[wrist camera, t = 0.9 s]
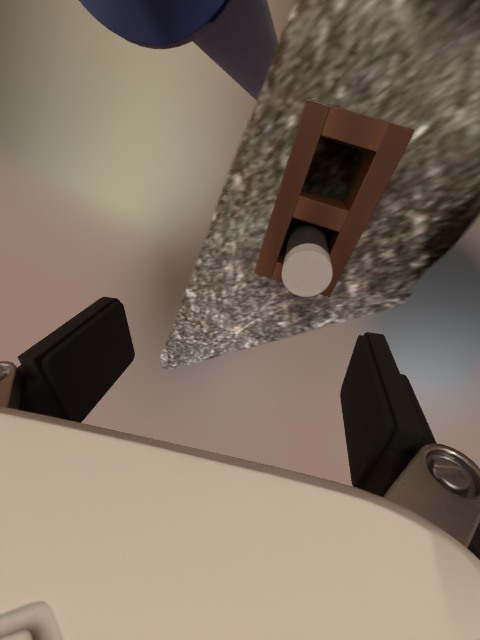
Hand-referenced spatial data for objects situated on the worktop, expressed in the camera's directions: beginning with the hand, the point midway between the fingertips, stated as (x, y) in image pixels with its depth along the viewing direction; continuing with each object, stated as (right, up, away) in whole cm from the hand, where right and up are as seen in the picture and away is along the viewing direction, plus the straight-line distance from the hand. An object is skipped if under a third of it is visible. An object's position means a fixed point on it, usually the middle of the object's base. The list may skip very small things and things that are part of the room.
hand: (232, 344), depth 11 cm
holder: (+9, +14, +20) cm, 26 cm away
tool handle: (+8, +12, +22) cm, 26 cm away
